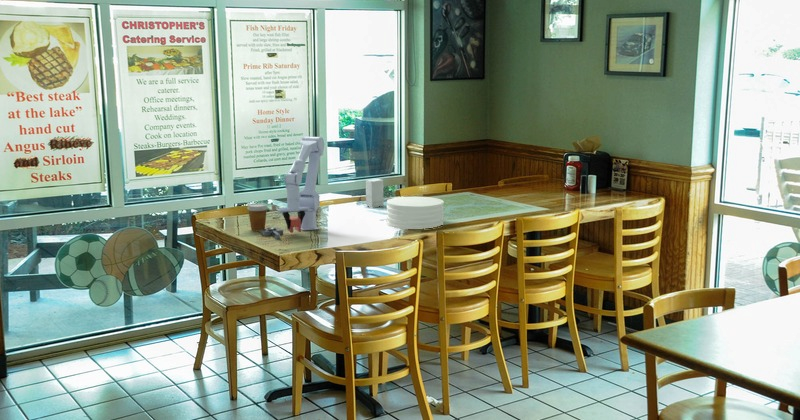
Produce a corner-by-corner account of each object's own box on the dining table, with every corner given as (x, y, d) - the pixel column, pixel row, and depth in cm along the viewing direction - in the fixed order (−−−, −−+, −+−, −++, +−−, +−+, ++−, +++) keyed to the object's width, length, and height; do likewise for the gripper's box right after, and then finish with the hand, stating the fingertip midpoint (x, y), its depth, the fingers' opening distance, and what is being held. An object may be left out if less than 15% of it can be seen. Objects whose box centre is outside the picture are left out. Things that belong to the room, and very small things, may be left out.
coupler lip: (261, 233, 390) (260, 227, 390) (280, 231, 394) (279, 226, 393) (268, 240, 377) (268, 233, 376) (288, 238, 380) (287, 232, 379)
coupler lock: (287, 229, 390) (287, 217, 388) (296, 228, 391) (296, 216, 390) (291, 232, 383) (290, 219, 382) (300, 231, 385) (300, 219, 384)
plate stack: (450, 220, 422) (450, 198, 420) (433, 231, 396) (433, 207, 394) (398, 217, 431) (398, 195, 429) (378, 227, 405) (378, 204, 403)
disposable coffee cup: (253, 232, 392) (252, 207, 389) (244, 229, 399) (243, 204, 397) (271, 230, 397) (271, 205, 395) (262, 227, 405) (261, 202, 402)
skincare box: (377, 204, 465) (377, 178, 462) (384, 206, 460) (384, 179, 457) (365, 206, 459) (365, 179, 457) (371, 208, 455) (371, 180, 452)
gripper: (279, 201, 378) (280, 230, 381) (311, 199, 383) (311, 228, 386) (276, 198, 384) (276, 227, 387) (306, 196, 390) (307, 225, 392)
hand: (294, 227), depth 387 cm, fingers closed on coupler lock, 5 cm apart
